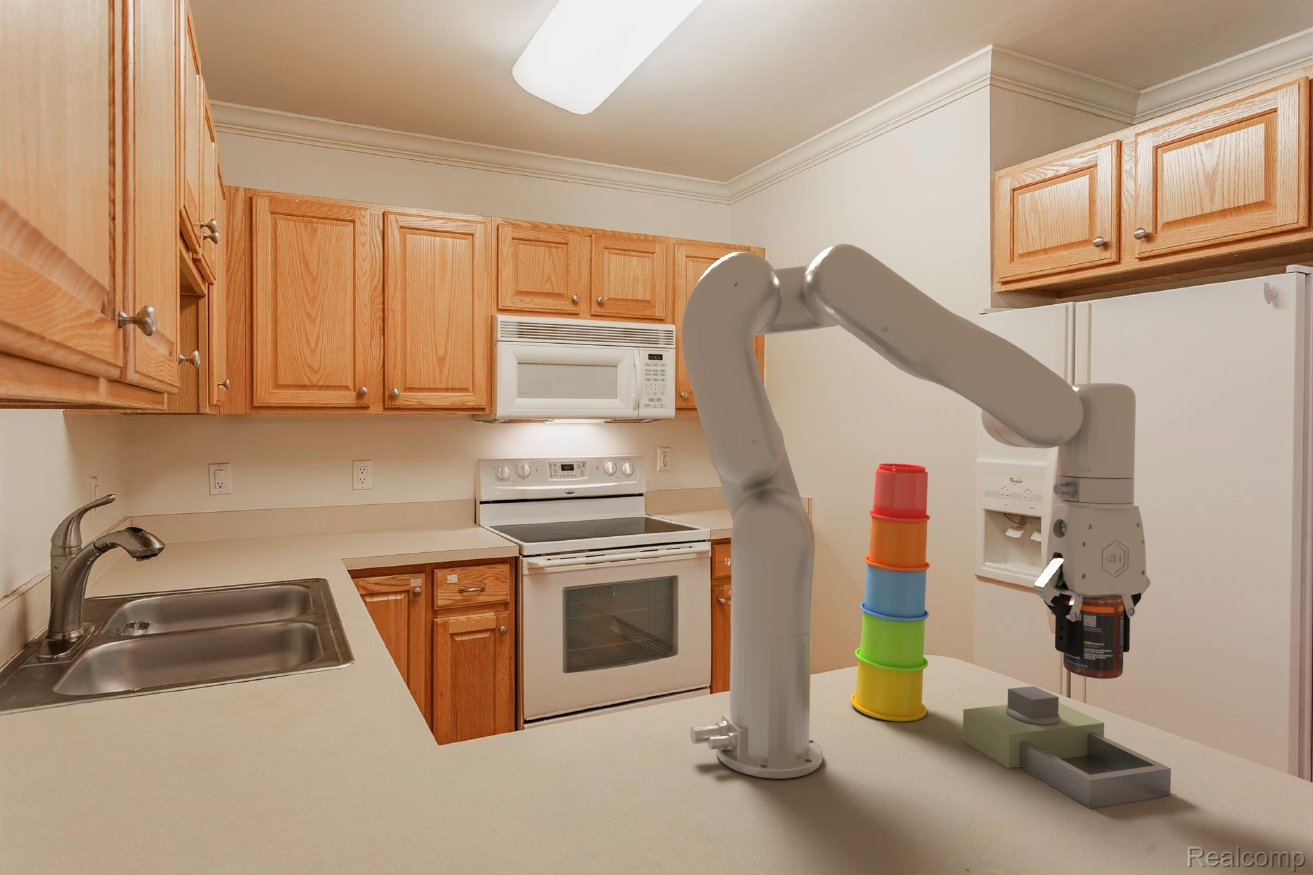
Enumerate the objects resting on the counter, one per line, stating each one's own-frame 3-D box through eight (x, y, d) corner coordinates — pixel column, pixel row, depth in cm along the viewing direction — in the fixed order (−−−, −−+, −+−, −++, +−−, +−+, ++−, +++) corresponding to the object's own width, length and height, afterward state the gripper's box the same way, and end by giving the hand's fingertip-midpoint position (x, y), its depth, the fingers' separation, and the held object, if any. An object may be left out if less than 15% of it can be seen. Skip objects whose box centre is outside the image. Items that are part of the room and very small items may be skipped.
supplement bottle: (1106, 665, 88) (1108, 568, 88) (1133, 682, 82) (1136, 579, 82) (1053, 662, 89) (1055, 567, 89) (1076, 679, 83) (1078, 577, 83)
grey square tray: (1089, 808, 79) (1090, 780, 79) (1019, 766, 89) (1019, 741, 89) (1170, 795, 82) (1170, 768, 82) (1093, 756, 92) (1094, 732, 92)
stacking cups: (918, 697, 111) (923, 462, 110) (933, 725, 101) (939, 466, 100) (847, 693, 113) (851, 461, 112) (854, 719, 102) (859, 464, 102)
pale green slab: (1008, 768, 88) (1009, 709, 88) (962, 740, 96) (963, 686, 96) (1103, 755, 92) (1104, 699, 92) (1052, 729, 100) (1053, 677, 100)
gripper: (1059, 497, 79) (1056, 667, 80) (1184, 494, 84) (1181, 655, 85) (1007, 491, 87) (1004, 647, 87) (1125, 488, 91) (1122, 636, 92)
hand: (1092, 649), depth 86 cm, fingers closed on supplement bottle, 6 cm apart
